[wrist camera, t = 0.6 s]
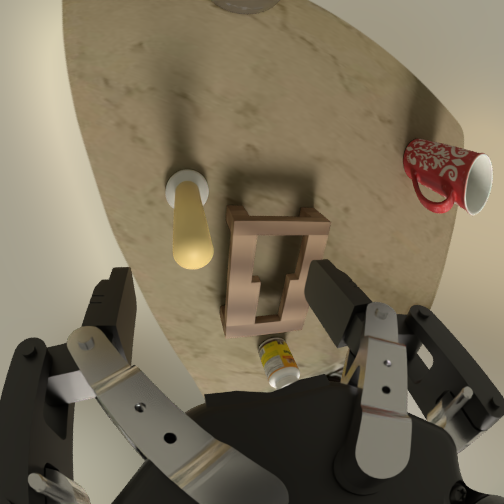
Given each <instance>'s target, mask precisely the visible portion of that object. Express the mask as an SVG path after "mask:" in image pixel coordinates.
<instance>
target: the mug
mask: <svg viewBox="0 0 504 504" xmlns="http://www.w3.org/2000/svg"><path fill="white" fill-rule="evenodd" d="M403 164H404V169H405V172H406V174H407V176H408V177H409V178H410V179H412V182H413V186H414V189H415V192H416V194H417V197H418V199H419V200H420V202H421V203H422V205H423V206H424V207H425V208H427V209H428V210H430V211H432V212H434V213H445V212H447V211H449V210H450V209H451V208H452V206H453V204H454V203H455V204H457V205H458V206H460V207H462V208H463V209H465V210H466V211H467V212H468V213H469V214H470V215H476V214H477V213H479V212H480V211H481V209H482V208H483V207H484V205H485V204H486V202H487V199H488V197H489V194H490V191H491V186H492V179H493V169H492V164H491V161H490V158H489V157H488V155H486V154H485V153H476V152H473V151H470V150H466V149H462V148H458V147H455V146H450V145H446V144H442V143H437V142H433V141H428V140H424V139H415V140H413V141H411V142H410V143H409V145H408V146H407V148H406V150H405V153H404V160H403ZM418 183H420V184H422V185H424V186H426V187H427V188H429V189H431V190H433V191H435V192H436V193H438V194H440V195H442V196H443V197H445V198H446V199H445V200H444V201H442V202H432V201H430V200H428V199H426V198H425V197H424V196H423V195H422V193H421V191H420V189H419V185H418Z"/></svg>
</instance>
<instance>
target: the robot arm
mask: <svg viewBox="0 0 504 504" xmlns="http://www.w3.org/2000/svg"><path fill="white" fill-rule="evenodd" d="M211 1H213V2H214V3H215V4H216V5H217V6H219V7H221V8H223V9H225V10H228V11H230V12H234V13H239V14H256V13H260V12H264V11H266V10H268V9H270V8H271V7H273V6H274V5H275V4H276V3H278V2H279V1H280V0H211ZM304 295H305V299H306V301H307V303H308V304H309V306H310V307H311V309H312V310H313V312H314V313H315V315H316V316H317V318H318V319H319V321H320V322H321V324H322V325H323V327H324V328H325V330H326V331H327V333H328V335H329V336H330V338H331V339H332V341H333V342H334V344H335V345H336V347H337V348H340V347H344V346H348V347H349V349H348V351H347V354H346V359H345V364H344V369H343V374H342V378H341V383H338V382H329V381H328V379H327V377H326V375H325V374H323V375H318V376H314V377H310V378H306V379H301V380H298V381H295V382H293V383H291V384H289V385H287V386H285V387H283V388H280V389H278V390H276V391H274V392H269V393H266V392H247V391H231V392H223V393H213V394H204V396H205V403H204V404H201V405H198V406H196V407H194V408H192V409H190V410H188V411H187V412H185V413H184V412H183V411H182V410H181V409H179V408H178V407H177V406H176V405H175V404H174V403H173V402H172V401H171V400H170V399H169V398H168V397H167V396H165V394H164V393H163V392H162V391H161V390H160V389H159V388H158V387H157V386H156V385H155V384H154V383H153V382H152V381H151V380H150V379H149V378H148V377H147V376H146V375H145V374H144V373H143V372H142V371H141V370H140V369H139V368H138V367H137V366H135V365H133V366H131V359H132V347H133V336H134V327H135V319H136V310H137V305H136V296H135V290H134V284H133V278H132V271H131V268H130V267H116V268H113V269H112V272H111V275H110V278H109V280H101V281H100V282H99V283H98V285H97V286H96V287H95V289H94V291H93V294H92V297H91V299H90V304H89V305H88V308H87V311H86V314H85V317H84V320H83V323H82V327H80V328H78V329H76V330H74V331H73V332H72V333H71V334H70V335H69V337H68V339H67V343H64V344H61V345H57V346H52V347H48V348H47V347H46V345H45V343H44V341H42V340H41V339H39V338H28V339H26V340H24V341H22V342H21V343H20V344H19V345H18V346H17V348H16V349H15V352H14V355H13V358H12V361H11V364H10V367H9V370H8V373H7V377H6V380H5V384H4V388H3V391H2V395H1V400H0V504H91V503H90V499H89V496H88V494H87V492H86V491H85V490H84V489H83V487H82V486H80V485H79V484H77V483H76V482H74V480H73V421H74V406H75V402H78V401H82V400H86V399H90V398H95V399H96V400H97V402H98V403H99V404H100V406H101V407H102V409H103V410H104V411H105V413H106V414H107V415H108V417H109V418H110V419H111V421H112V422H113V423H114V425H115V426H116V427H117V428H118V430H119V431H120V432H121V434H122V435H123V436H124V437H125V439H126V440H127V441H128V442H129V443H130V445H131V446H132V447H133V448H134V449H135V451H136V452H137V453H138V454H139V455H140V456H141V457H142V458H143V459H144V460H145V462H144V463H143V464H142V466H141V467H140V468H139V469H138V471H137V472H136V473H135V475H134V476H133V477H132V479H131V480H130V481H129V482H128V484H127V485H126V486H125V488H124V489H123V490H122V491H121V492H120V494H119V495H118V496H117V497H116V499H115V500H114V501H113V502H112V503H111V504H504V498H503V497H501V496H497V495H489V494H484V493H480V492H477V491H474V490H472V489H470V488H469V487H468V486H466V484H465V483H464V481H463V479H462V476H461V473H460V469H459V464H458V456H457V454H458V453H459V452H461V451H462V450H464V449H465V448H466V447H468V446H469V445H470V444H471V443H473V442H474V441H475V440H476V439H478V437H480V436H481V435H482V434H484V433H485V432H486V431H487V430H488V429H489V428H490V427H492V426H493V425H494V424H495V423H496V422H497V421H498V420H499V419H500V418H501V417H502V416H503V415H504V398H503V396H502V395H501V394H500V392H499V391H498V390H497V388H496V387H495V386H494V384H493V383H492V382H491V380H490V379H489V378H488V376H487V375H486V374H485V372H484V371H483V370H482V369H481V367H480V366H479V365H478V364H477V363H476V361H475V360H474V359H473V358H472V356H471V355H470V354H469V353H468V352H467V350H466V349H465V348H464V347H463V346H462V345H461V343H460V342H459V341H458V340H457V339H456V338H455V337H454V335H453V334H452V333H451V332H450V331H449V330H448V329H447V328H446V327H445V325H444V324H443V323H442V322H441V321H440V320H439V319H438V318H437V317H436V316H435V315H434V314H433V312H432V311H430V310H429V309H428V308H426V307H423V306H420V305H414V306H412V307H411V308H410V310H409V312H408V314H407V315H403V314H396V312H395V311H394V310H393V309H392V308H391V307H390V306H388V305H386V304H384V303H380V302H372V301H371V300H370V299H369V298H368V297H367V296H366V294H365V293H364V292H363V291H362V290H361V289H360V288H359V287H357V285H356V284H355V283H354V282H352V279H351V278H350V277H349V276H348V275H347V274H345V273H344V272H342V271H340V270H339V269H337V268H336V267H335V266H334V265H333V264H332V263H331V262H330V261H329V260H328V259H323V260H312V261H311V263H310V266H309V270H308V275H307V279H306V283H305V288H304ZM422 344H424V346H425V347H426V348H427V349H428V351H429V352H430V353H431V355H432V356H433V361H434V362H433V365H432V367H431V368H430V370H429V369H428V367H427V366H426V365H425V364H424V362H423V361H422V359H421V358H420V357H419V355H418V354H417V352H418V350H419V349H420V347H421V346H422ZM407 389H408V391H409V392H410V394H411V395H412V397H413V399H414V400H415V402H416V403H417V405H418V406H419V408H420V410H421V411H422V413H423V415H424V416H425V418H426V420H427V421H426V420H424V419H421V418H419V417H417V416H415V415H412V414H410V413H408V412H407Z"/></svg>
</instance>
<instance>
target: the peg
mask: <svg viewBox="0 0 504 504" xmlns="http://www.w3.org/2000/svg"><path fill="white" fill-rule="evenodd" d="M208 194H209V189H208V185H207V182H206V180H205V178H204V177H203V175H201V174H200V173H199V172H197V171H195V170H191V169H184V170H180V171H178V172H176V173H175V174H173V175H172V176H171V178H170V179H169V181H168V183H167V186H166V199H167V201H168V203H169V204H170V206H171V207H172V208H174V224H173V256H174V259H175V261H176V262H177V263H178V264H179V265H180V266H182V267H184V268H187V269H198V268H201V267H203V266H205V265H206V264H208V263H209V261H210V260H211V258H212V256H213V245H212V241H211V237H210V233H209V229H208V225H207V221H206V217H205V213H204V209H203V205H204V204H205V202H206V200H207V198H208Z"/></svg>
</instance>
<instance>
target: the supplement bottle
mask: <svg viewBox="0 0 504 504" xmlns="http://www.w3.org/2000/svg"><path fill="white" fill-rule="evenodd" d="M258 353H259V356H260V359H261V362H262V365H263V368H264V370H265V373H266V376H267V378H268V381H269V384H270V385H271V386H272V387H275V388H276V389H277V390H278V389H280V388H283V387H285V386H287V385H289V384H291V383H293V382H295V381H298V380H299V377H300V371H299V369H298V367H297V364H296V362H295V360H294V358H293V356H292V354H291V352H290V350H289V348H288V345H287V343H286V342H285V340H283V339H281V338H271V339H268V340H266V341H264V342H263V343H262V344H261V345H260V346H259V349H258Z"/></svg>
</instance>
